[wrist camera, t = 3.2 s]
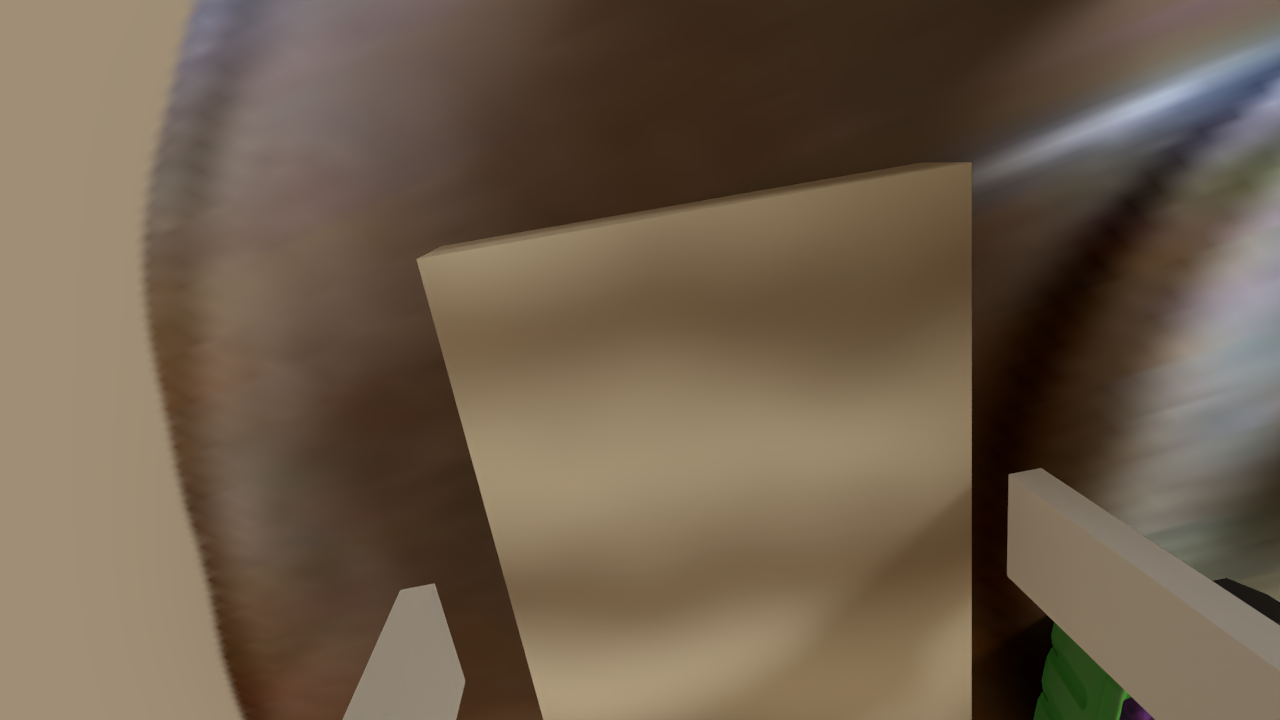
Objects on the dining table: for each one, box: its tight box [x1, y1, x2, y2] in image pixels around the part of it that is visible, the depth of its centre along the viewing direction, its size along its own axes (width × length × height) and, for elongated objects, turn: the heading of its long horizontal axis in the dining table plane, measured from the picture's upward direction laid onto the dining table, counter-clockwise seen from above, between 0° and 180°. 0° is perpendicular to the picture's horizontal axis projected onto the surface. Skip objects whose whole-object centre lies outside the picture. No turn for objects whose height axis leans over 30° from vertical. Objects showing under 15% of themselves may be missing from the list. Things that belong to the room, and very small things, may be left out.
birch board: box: [416, 162, 972, 720], centre depth 16 cm, size 16×11×2 cm
